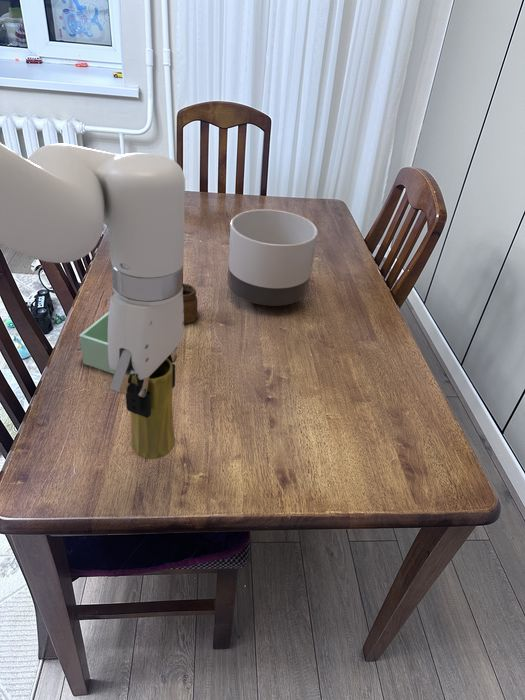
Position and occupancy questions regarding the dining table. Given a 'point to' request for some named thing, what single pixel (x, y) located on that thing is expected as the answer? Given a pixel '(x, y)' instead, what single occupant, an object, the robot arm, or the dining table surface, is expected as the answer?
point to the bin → (96, 345)
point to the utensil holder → (189, 302)
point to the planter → (270, 256)
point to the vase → (155, 416)
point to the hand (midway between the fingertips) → (151, 397)
